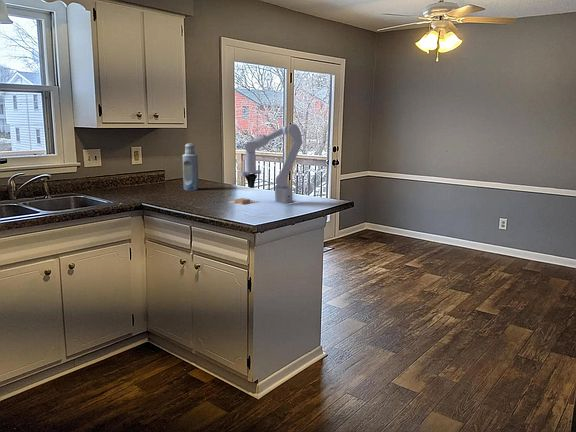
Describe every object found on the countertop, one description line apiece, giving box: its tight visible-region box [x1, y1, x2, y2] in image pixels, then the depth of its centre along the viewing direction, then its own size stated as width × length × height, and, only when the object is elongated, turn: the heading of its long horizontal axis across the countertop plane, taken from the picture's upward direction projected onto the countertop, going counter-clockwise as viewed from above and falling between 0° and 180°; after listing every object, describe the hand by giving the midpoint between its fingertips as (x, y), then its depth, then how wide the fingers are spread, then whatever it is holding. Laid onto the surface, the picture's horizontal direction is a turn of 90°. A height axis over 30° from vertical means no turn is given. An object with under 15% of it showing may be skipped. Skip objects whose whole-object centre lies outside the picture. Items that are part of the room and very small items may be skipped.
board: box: [228, 199, 260, 206], centre depth 272 cm, size 14×13×1 cm
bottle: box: [182, 143, 199, 191], centre depth 319 cm, size 10×10×30 cm
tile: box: [234, 197, 251, 205], centre depth 270 cm, size 6×2×6 cm
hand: (251, 187), depth 273 cm, fingers closed
